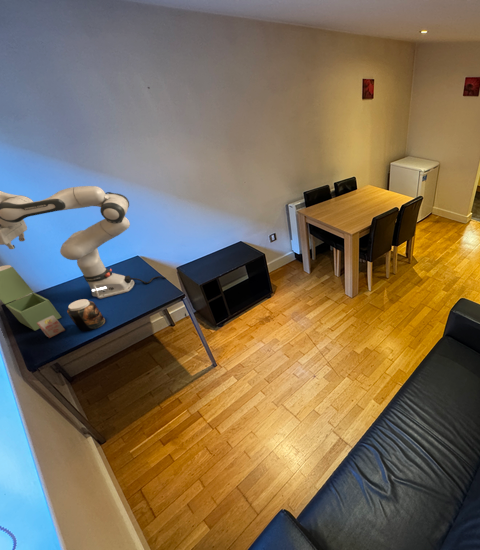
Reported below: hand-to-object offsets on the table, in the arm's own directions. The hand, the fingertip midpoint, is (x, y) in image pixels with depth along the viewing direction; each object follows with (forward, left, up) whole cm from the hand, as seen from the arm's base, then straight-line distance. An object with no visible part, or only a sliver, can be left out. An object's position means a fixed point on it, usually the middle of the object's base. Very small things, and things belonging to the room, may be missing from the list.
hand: (17, 244), depth 160 cm
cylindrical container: (+15, -2, -39) cm, 42 cm away
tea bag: (-12, +35, -39) cm, 53 cm away
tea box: (0, +19, -39) cm, 43 cm away
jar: (-28, +34, -39) cm, 59 cm away
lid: (+6, +13, -17) cm, 23 cm away
